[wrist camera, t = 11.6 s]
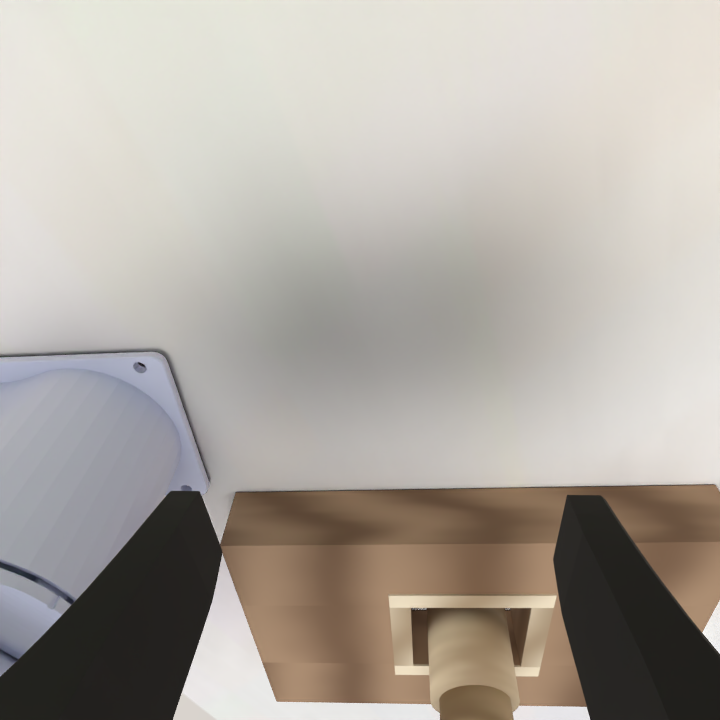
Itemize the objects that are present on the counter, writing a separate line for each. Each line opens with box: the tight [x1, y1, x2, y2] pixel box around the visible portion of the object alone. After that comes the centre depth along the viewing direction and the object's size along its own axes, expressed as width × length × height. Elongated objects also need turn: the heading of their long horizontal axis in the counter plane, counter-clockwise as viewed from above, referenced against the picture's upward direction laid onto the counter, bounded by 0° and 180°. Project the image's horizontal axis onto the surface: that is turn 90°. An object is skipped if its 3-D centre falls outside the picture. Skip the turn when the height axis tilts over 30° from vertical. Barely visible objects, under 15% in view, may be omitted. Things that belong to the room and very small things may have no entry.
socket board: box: [220, 485, 720, 707], centre depth 29 cm, size 22×15×3 cm
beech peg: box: [427, 608, 520, 720], centre depth 26 cm, size 4×4×9 cm
